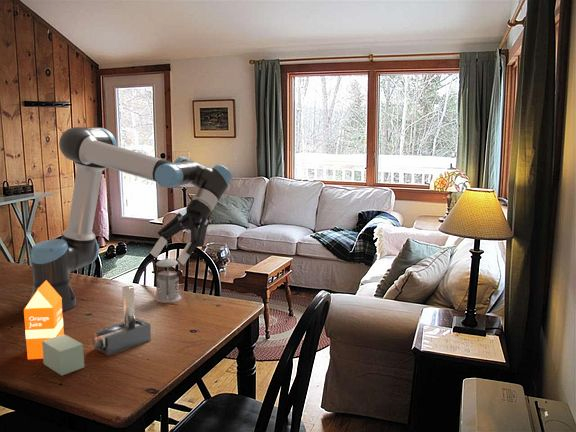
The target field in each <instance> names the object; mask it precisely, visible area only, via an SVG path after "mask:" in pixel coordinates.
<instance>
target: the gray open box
mask: <svg viewBox="0 0 576 432" xmlns="http://www.w3.org/2000/svg"><path fill="white" fill-rule="evenodd" d="M135 324H140V325H139V326H136V327H133V328H130V329H127V330H124V331H121V332H118V333H115V334H112V335H109V336H106V337H105V348H102V349H100V350H98V351H99V352H101V353H102V354H104V355H106V356H108V357H110V356H111V355H114V354H115V355H116V354H117V353H119V352H120V353H121V352H122V351H125V350H128V349H130V348H133V347H136V346H139V345H142V344H144V343H146V342H149V341H152V337H151V336H152V335H151V333H152V331H151V323H149V322H147V321H145V320H142V319H139V318H138V317H135ZM122 328H124V321H123V322H120V323H116V324H114V325H111V326H107V327H105V328H101V329H99V330H96V331H93V339H94V338H95V337H98V336H101V335H104V334H107V333H110V332H113V331H116V330H119V329H122Z"/></svg>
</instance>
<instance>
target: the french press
mask: <svg viewBox="0 0 576 432" xmlns="http://www.w3.org/2000/svg"><path fill="white" fill-rule="evenodd" d="M166 236H167V235H166ZM165 246H168V242H167V243H166V244H165ZM178 264H179V261H178V260H175V259H173V258H169V257H166V258H162V259H161V260H160V259H159V260H158V261H157V262H156V263H155V265H156V266H157V267H160V268H166V270H165V269H164V270H163V271H159V272H158V273H157V277H156V283H157V284H156V286H157V287H156V288H157V290H156V291H157V296H156V297H155V298H154V300H155V301H156V302H157V303H164V304H165V303H167V304H168V303H175V302H178V301H180V300H182V296H181V295H180V293H179V292H180V291H179V289H180V288H179V276H178V272H177V271H172V270H169V268H171V267H175V266H178Z"/></svg>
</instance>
